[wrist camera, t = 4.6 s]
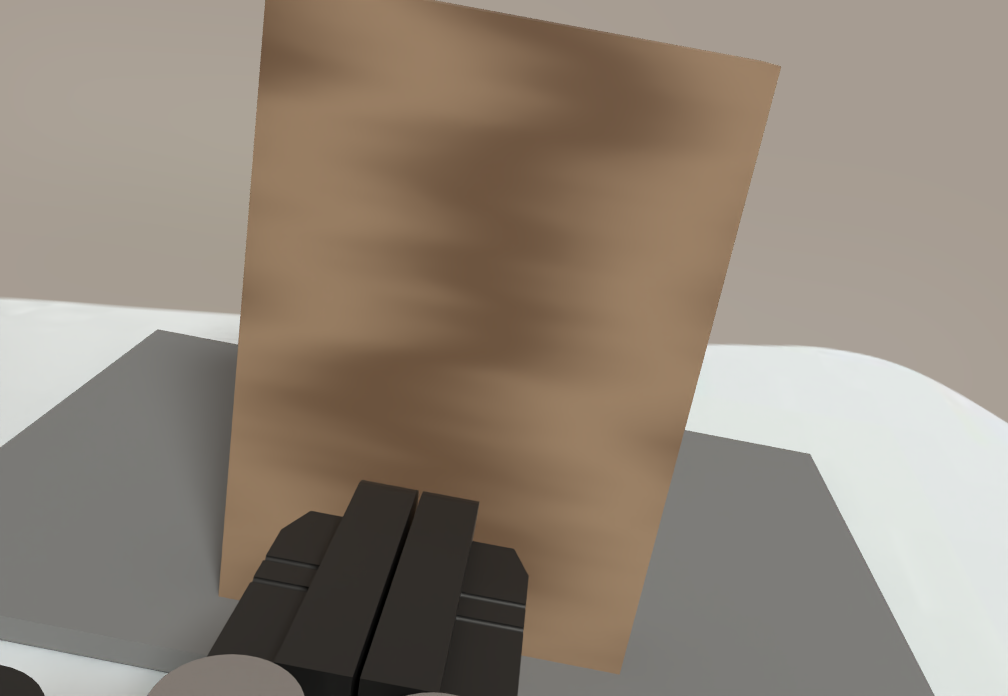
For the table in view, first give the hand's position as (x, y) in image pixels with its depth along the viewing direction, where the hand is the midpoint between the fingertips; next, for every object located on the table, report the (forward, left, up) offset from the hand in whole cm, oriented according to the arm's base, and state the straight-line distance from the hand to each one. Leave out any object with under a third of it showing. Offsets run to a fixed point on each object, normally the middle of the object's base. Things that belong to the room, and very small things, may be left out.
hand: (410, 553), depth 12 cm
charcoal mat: (0, +13, -7) cm, 15 cm away
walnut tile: (0, +8, -7) cm, 11 cm away
